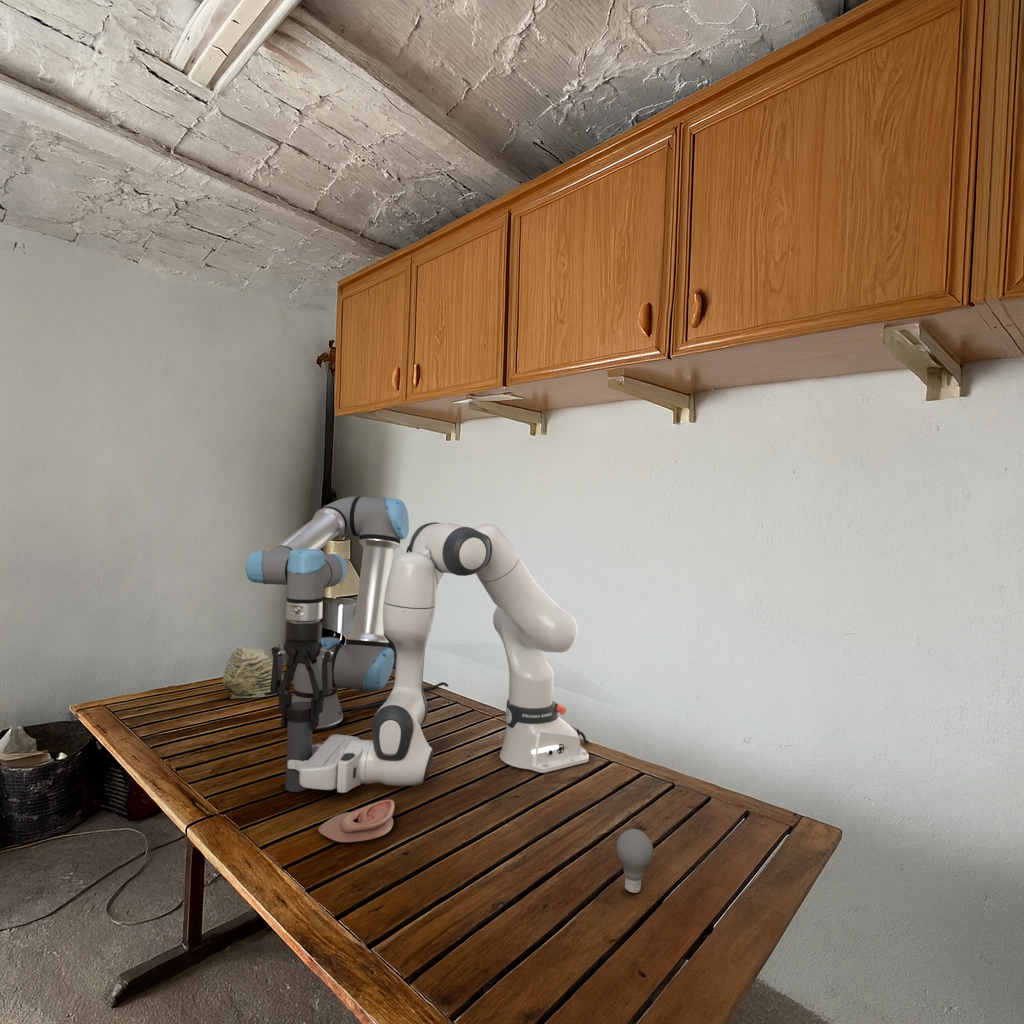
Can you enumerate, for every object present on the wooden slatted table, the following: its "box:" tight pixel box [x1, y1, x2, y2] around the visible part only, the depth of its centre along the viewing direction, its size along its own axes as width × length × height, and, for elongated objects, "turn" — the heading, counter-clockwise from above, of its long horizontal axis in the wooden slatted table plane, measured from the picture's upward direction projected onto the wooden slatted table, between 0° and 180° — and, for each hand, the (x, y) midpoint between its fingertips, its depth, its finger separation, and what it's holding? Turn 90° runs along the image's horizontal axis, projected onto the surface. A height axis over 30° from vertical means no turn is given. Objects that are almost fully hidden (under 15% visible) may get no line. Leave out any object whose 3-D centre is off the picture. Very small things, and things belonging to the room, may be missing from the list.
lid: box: [286, 701, 311, 721], centre depth 138 cm, size 6×6×2 cm
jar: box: [284, 720, 313, 793], centre depth 138 cm, size 5×5×17 cm
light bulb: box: [615, 828, 654, 894], centre depth 106 cm, size 6×6×10 cm
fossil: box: [222, 646, 284, 699], centre depth 198 cm, size 9×18×15 cm, turn 132°
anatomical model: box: [317, 799, 395, 843], centre depth 122 cm, size 13×4×12 cm
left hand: (300, 726), depth 138 cm, fingers closed on lid, 6 cm apart
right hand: (294, 757), depth 138 cm, fingers closed on jar, 5 cm apart
